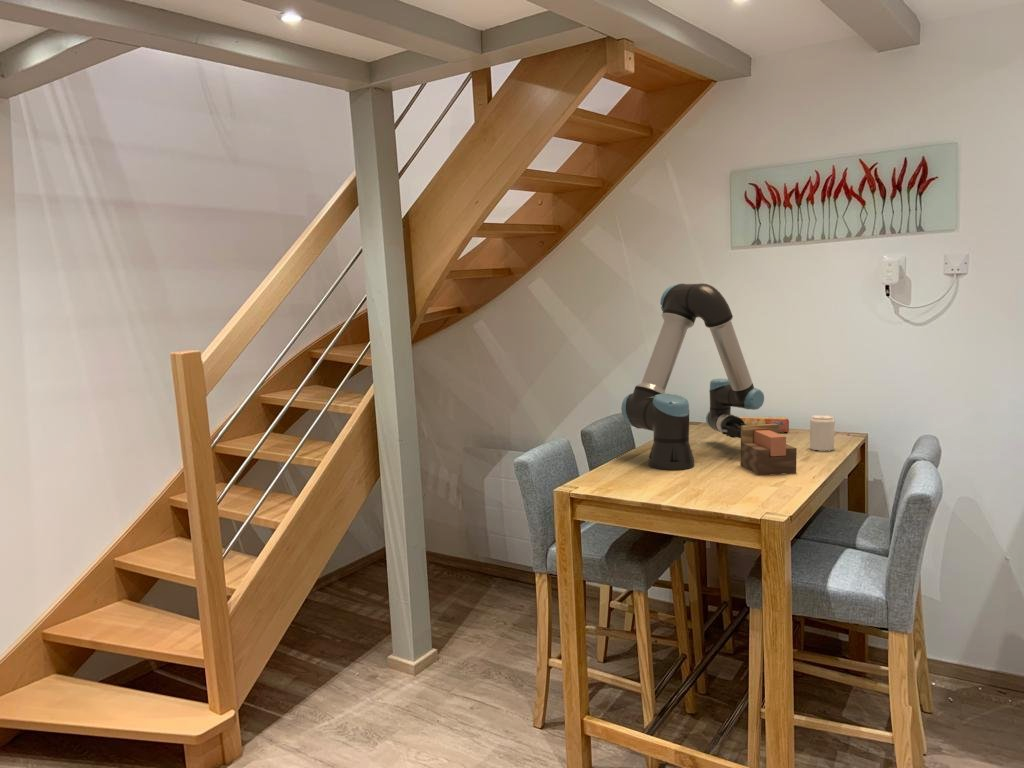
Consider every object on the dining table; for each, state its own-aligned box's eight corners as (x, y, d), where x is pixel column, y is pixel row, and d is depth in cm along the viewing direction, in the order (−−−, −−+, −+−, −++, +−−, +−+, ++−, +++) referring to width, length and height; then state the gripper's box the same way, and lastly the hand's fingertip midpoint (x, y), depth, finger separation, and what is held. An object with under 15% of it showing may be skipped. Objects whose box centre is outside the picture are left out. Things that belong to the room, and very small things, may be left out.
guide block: (740, 465, 267) (740, 425, 265) (775, 463, 268) (776, 423, 267) (758, 475, 253) (759, 433, 251) (796, 473, 255) (796, 431, 253)
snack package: (786, 431, 325) (787, 414, 324) (789, 434, 318) (789, 417, 317) (732, 430, 329) (732, 414, 328) (733, 433, 322) (733, 417, 321)
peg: (751, 447, 266) (751, 429, 265) (766, 446, 267) (766, 428, 266) (770, 456, 252) (771, 437, 252) (785, 455, 253) (786, 436, 252)
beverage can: (811, 451, 285) (811, 418, 283) (808, 447, 293) (809, 414, 291) (835, 452, 283) (836, 418, 281) (832, 447, 291) (832, 414, 289)
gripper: (748, 434, 291) (778, 448, 268) (713, 437, 289) (741, 450, 266) (748, 414, 290) (778, 425, 267) (713, 416, 288) (741, 428, 265)
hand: (760, 438), depth 267 cm, fingers closed
